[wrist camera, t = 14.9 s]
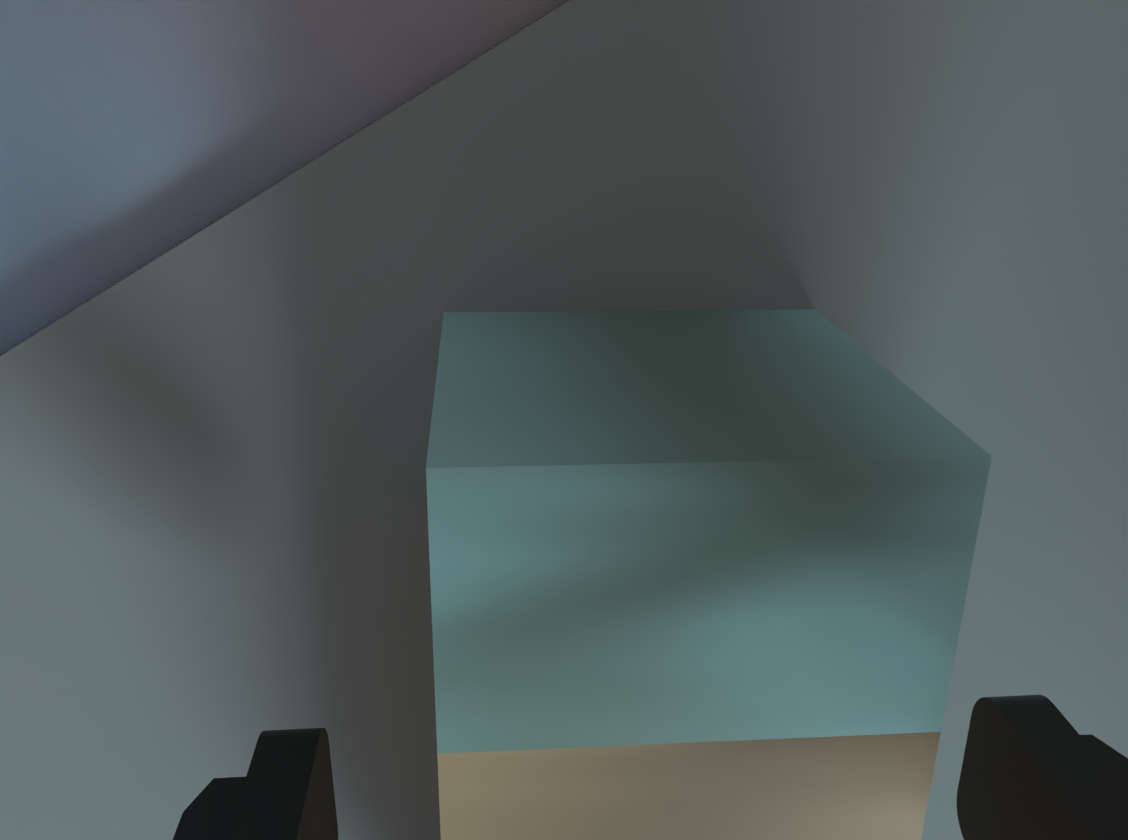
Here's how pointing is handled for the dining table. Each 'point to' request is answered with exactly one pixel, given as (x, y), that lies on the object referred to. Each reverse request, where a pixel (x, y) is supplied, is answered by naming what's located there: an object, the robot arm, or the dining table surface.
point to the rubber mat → (560, 283)
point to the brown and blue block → (689, 578)
